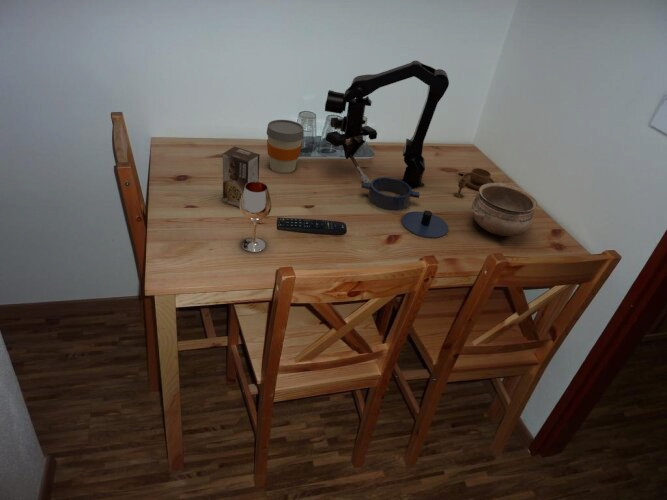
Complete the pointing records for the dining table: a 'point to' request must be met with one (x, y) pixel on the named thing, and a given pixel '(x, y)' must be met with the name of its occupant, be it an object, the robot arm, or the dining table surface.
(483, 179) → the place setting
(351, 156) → the fork
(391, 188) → the saucepan
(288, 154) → the reusable coffee cup
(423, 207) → the dining table surface
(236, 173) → the coffee box
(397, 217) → the dining table surface
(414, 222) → the lid
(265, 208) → the wineglass
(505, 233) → the cooking pot
